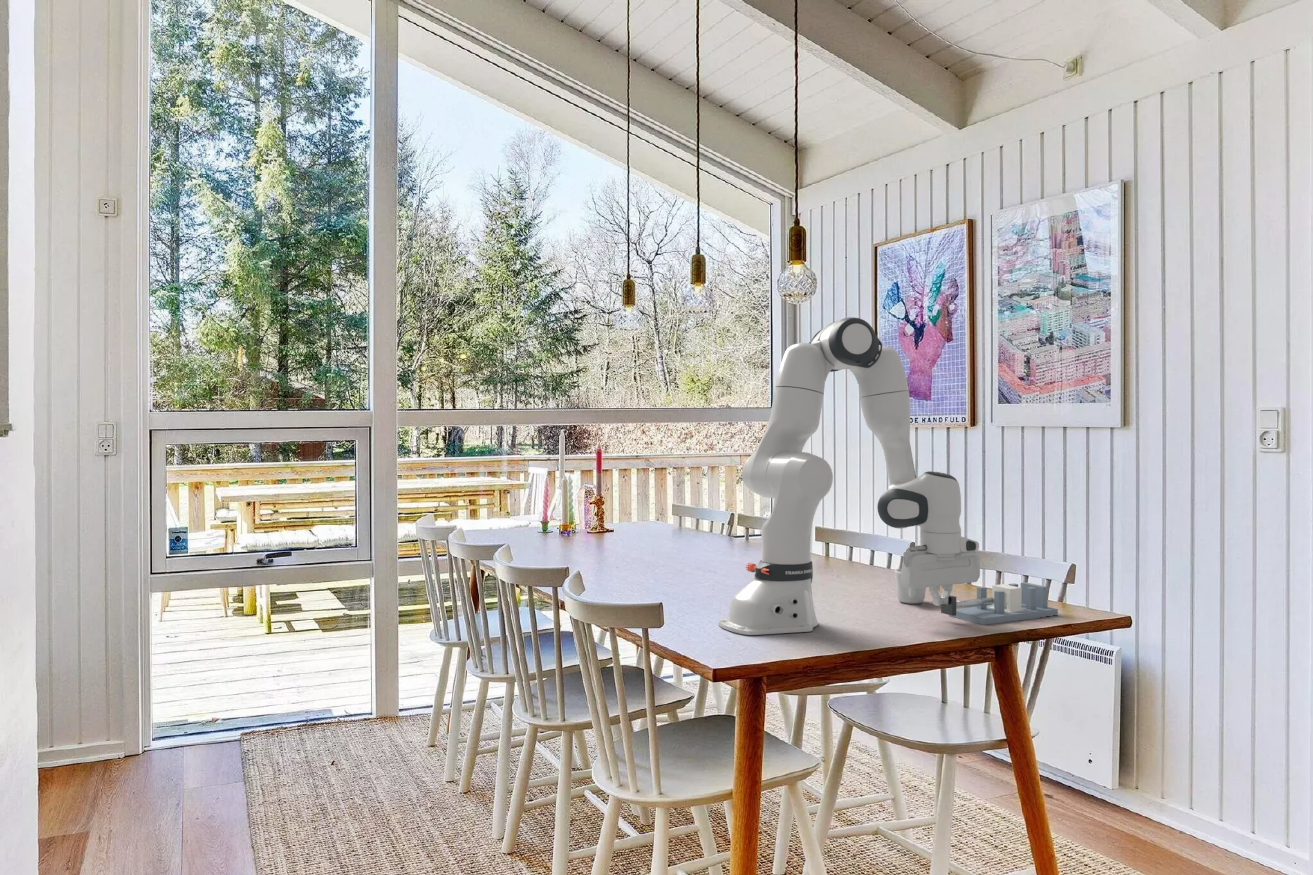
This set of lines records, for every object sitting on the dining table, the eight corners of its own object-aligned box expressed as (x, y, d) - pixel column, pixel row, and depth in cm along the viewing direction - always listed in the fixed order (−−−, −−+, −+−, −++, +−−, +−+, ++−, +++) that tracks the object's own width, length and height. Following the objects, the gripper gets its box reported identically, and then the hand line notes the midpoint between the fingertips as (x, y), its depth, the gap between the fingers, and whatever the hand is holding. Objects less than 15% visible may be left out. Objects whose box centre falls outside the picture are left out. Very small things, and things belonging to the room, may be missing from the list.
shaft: (952, 615, 213) (952, 597, 213) (941, 612, 216) (941, 594, 216) (997, 610, 219) (997, 592, 219) (986, 607, 222) (986, 589, 222)
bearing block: (983, 625, 212) (983, 596, 212) (948, 615, 222) (948, 588, 222) (1057, 615, 222) (1057, 587, 222) (1021, 607, 232) (1021, 580, 232)
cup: (929, 608, 231) (929, 575, 230) (895, 607, 232) (896, 574, 232) (926, 599, 241) (926, 568, 241) (893, 598, 243) (894, 567, 243)
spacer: (1003, 605, 225) (1003, 584, 225) (1021, 610, 220) (1021, 587, 220) (992, 607, 224) (992, 585, 224) (1009, 611, 219) (1009, 589, 219)
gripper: (913, 548, 206) (913, 611, 206) (984, 542, 215) (984, 603, 215) (894, 545, 212) (894, 606, 212) (964, 539, 220) (964, 598, 221)
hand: (940, 605), depth 213 cm, fingers closed
